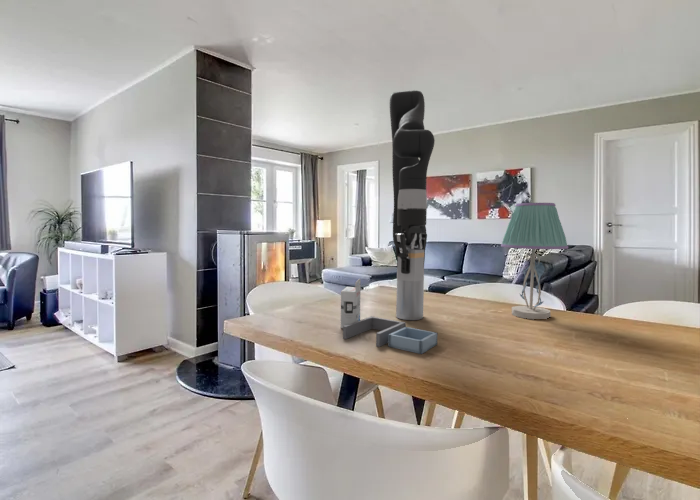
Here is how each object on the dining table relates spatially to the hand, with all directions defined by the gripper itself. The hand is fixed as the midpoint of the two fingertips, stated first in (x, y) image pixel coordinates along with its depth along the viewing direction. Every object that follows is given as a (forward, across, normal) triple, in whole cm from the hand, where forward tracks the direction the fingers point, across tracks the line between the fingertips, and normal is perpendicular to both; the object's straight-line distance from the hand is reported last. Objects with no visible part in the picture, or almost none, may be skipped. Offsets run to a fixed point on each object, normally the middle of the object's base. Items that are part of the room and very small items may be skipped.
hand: (410, 272), depth 99 cm
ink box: (+20, -6, -24) cm, 32 cm away
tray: (+20, 0, +1) cm, 20 cm away
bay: (+20, 0, -12) cm, 23 cm away
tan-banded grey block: (+2, 0, 0) cm, 2 cm away
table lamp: (+19, -58, +18) cm, 64 cm away
